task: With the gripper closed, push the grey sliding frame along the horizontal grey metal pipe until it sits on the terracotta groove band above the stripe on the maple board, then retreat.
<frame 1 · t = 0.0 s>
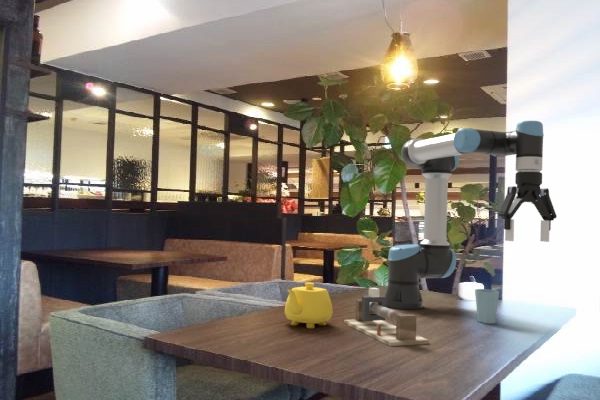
hand: (527, 241, 160), 28 cm above the table, fingers open, 13 cm apart
teapot: (305, 325, 161), on the table
grey sliding frame: (373, 304, 160), point 7 cm above the table, slide at 0.0 cm
pipe rig: (383, 332, 154), on the table
cup: (486, 322, 175), on the table
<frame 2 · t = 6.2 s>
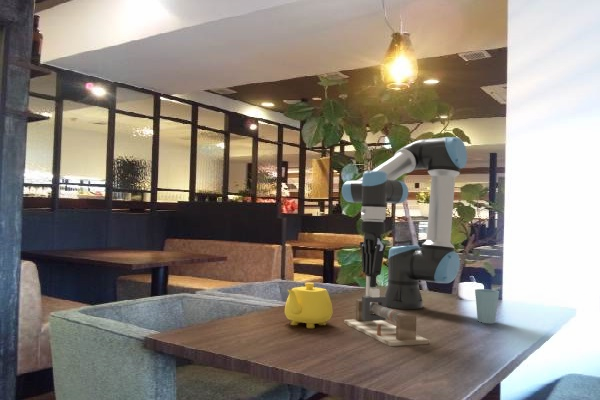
hand: (370, 297, 162), 9 cm above the table, fingers closed
grey sliding frame: (373, 304, 160), point 7 cm above the table, slide at 0.2 cm, touching gripper
everything else where it was.
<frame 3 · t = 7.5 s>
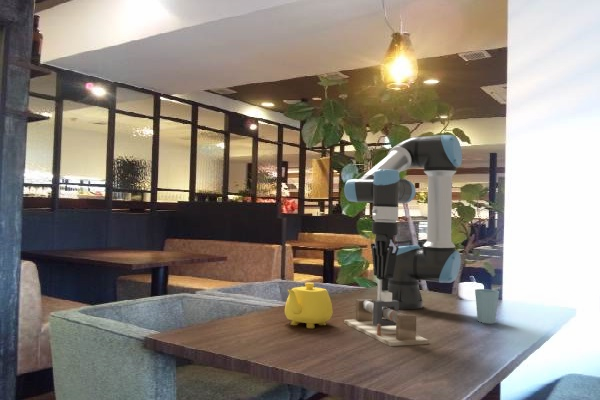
hand: (382, 301, 155), 9 cm above the table, fingers closed
grey sliding frame: (386, 308, 153), point 7 cm above the table, slide at 7.7 cm, touching gripper
everything else where it was.
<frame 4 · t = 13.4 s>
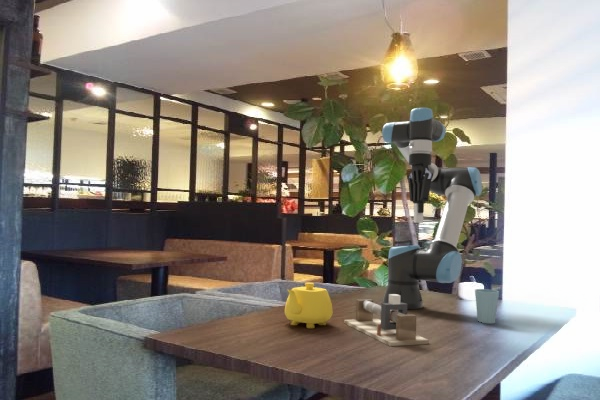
hand: (418, 222, 178), 32 cm above the table, fingers closed
grey sliding frame: (394, 311, 148), point 7 cm above the table, slide at 12.4 cm
everything else where it was.
at the end: grey sliding frame slide at 12.4 cm; grey sliding frame 0.9 cm from the target spot, resting on pipe rig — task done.
